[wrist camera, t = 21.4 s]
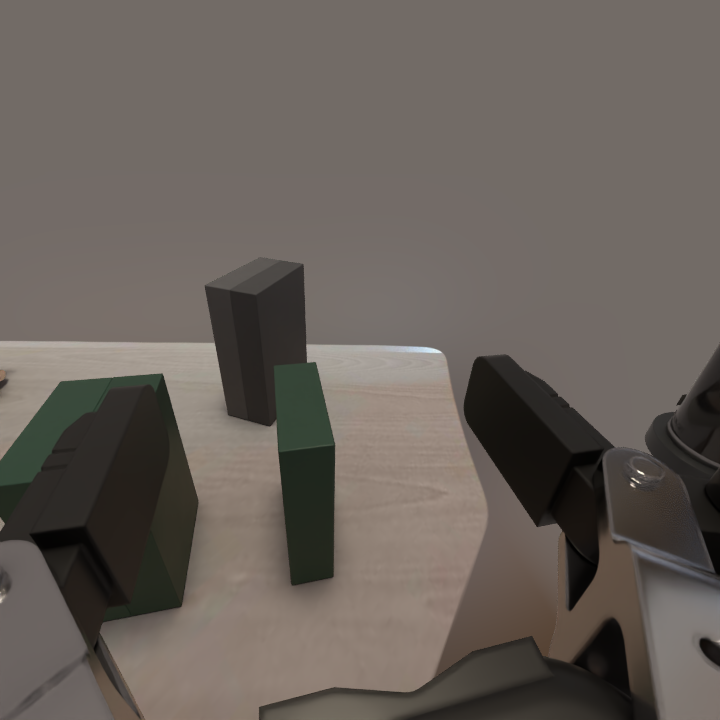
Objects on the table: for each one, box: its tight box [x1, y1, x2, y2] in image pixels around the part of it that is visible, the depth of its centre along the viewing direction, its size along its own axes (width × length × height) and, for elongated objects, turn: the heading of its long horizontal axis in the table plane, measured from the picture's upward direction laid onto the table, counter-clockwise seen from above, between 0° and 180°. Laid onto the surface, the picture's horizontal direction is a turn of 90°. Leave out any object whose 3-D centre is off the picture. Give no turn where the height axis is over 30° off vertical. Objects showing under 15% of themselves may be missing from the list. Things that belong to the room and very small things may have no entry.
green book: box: [274, 362, 335, 585], centre depth 29 cm, size 3×9×14 cm, turn 13°
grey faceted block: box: [205, 258, 307, 426], centre depth 43 cm, size 6×10×16 cm, turn 162°
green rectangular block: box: [0, 374, 198, 622], centre depth 26 cm, size 6×9×14 cm
